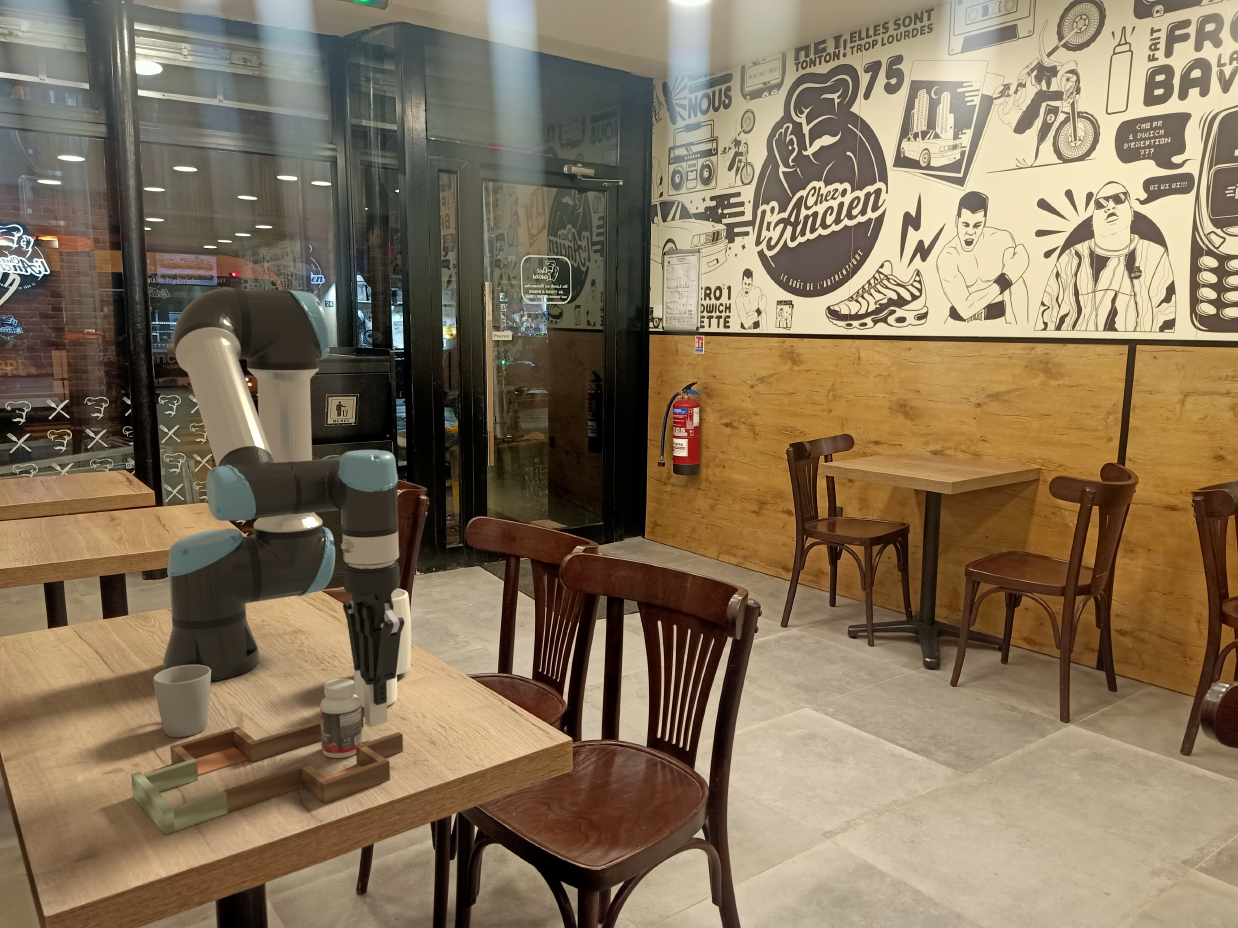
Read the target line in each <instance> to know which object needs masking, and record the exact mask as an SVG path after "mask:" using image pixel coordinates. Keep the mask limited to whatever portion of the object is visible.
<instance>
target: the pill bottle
mask: <svg viewBox="0 0 1238 928" xmlns="http://www.w3.org/2000/svg"><path fill="white" fill-rule="evenodd" d="M323 686H324V691H323V693H324V698H323V699H322V700H321V702H320V703H319V711H320V712H319V715H320V720H321V740H320V742H321V752H322V754H323V755H324V756H325V757H328V758H332V759H343V758H349V757H351V756H354V755H356V746H358V745H361V744H363V733H362V732H363V731H362V729H363V727H362V726H361V710H362V708H361V701H360V698H359V697H358V696H357V695H355V683H354V679H350V678H344V677H343V678H335V679H331V680H329V681H326V682H325V683H324V685H323Z"/></svg>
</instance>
